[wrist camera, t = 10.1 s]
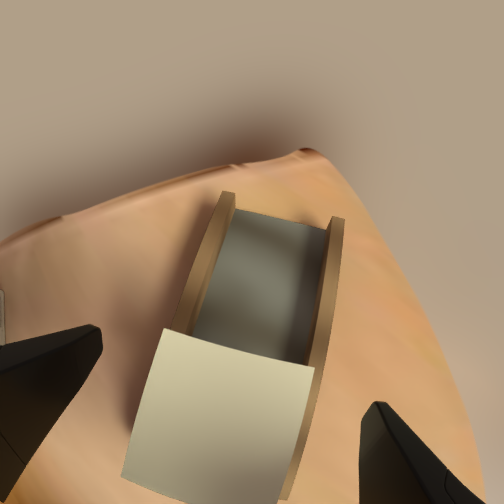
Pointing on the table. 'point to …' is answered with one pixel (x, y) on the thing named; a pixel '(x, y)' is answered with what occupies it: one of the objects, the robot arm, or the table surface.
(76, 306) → the table surface
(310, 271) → the track
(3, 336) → the coffee box
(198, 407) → the block
